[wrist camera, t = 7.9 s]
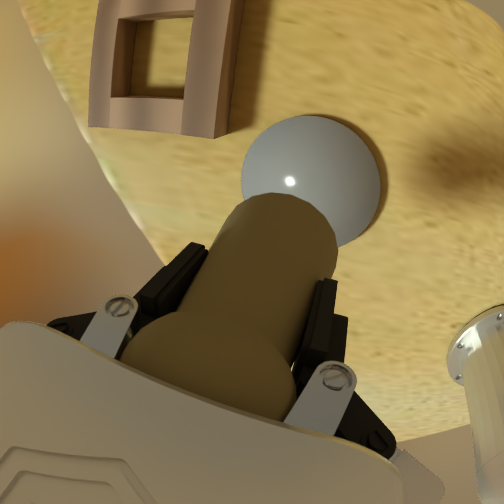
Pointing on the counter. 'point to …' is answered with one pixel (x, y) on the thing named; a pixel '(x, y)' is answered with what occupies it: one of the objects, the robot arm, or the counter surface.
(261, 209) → the cork
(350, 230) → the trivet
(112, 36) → the frame
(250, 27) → the counter surface
